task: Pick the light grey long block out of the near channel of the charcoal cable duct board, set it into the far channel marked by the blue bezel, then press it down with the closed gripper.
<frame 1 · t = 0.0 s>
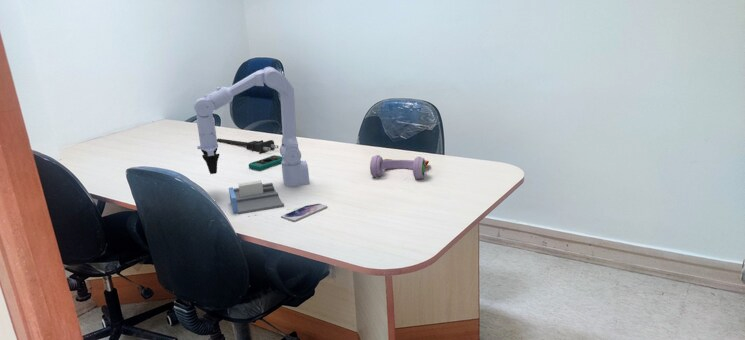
hand: (212, 170, 193), 10 cm above the table, tool pointing down, fingers open, 7 cm apart
light grey long block: (251, 193, 195), point 1 cm above the table, touching duct board
electrical plug: (245, 148, 260), on the table
duct board: (256, 200, 191), on the table
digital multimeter: (267, 166, 230), on the table
smartphone: (304, 214, 179), on the table
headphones: (401, 173, 214), on the table
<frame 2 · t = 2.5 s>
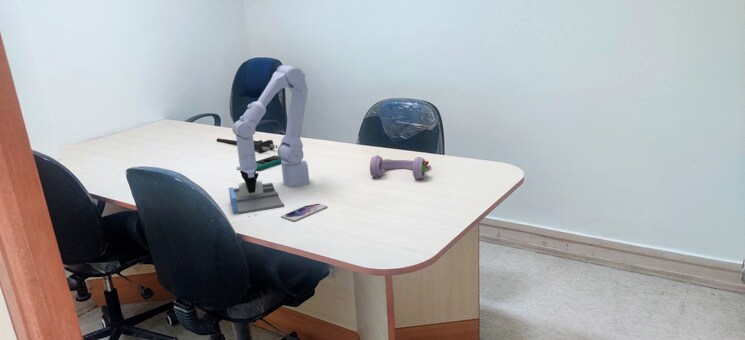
hand: (251, 190, 195), 2 cm above the table, tool pointing down, fingers closed on light grey long block, 3 cm apart
light grey long block: (251, 193, 195), point 1 cm above the table, touching duct board, gripper
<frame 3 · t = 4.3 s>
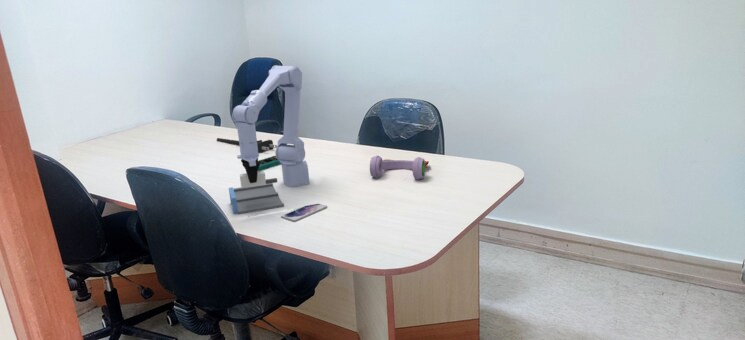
hand: (252, 180, 183), 9 cm above the table, tool pointing down, fingers closed on light grey long block, 3 cm apart
light grey long block: (253, 185, 184), point 7 cm above the table, touching gripper
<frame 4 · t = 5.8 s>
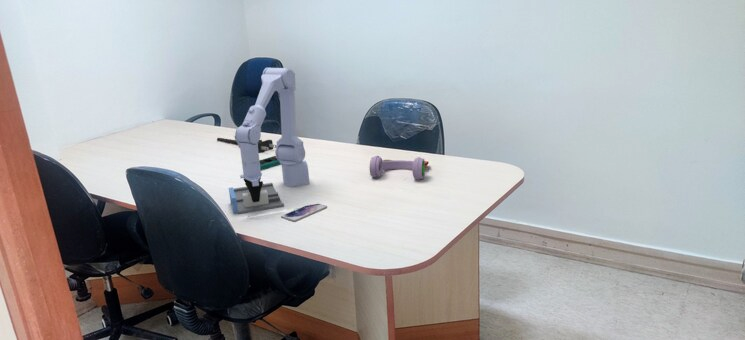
hand: (255, 199, 185), 2 cm above the table, tool pointing down, fingers closed on light grey long block, 3 cm apart
light grey long block: (256, 204, 185), point 1 cm above the table, touching gripper
when the fingers open (2 cm above the table, at t = 6.3 s): light grey long block stays where it is, resting on duct board.
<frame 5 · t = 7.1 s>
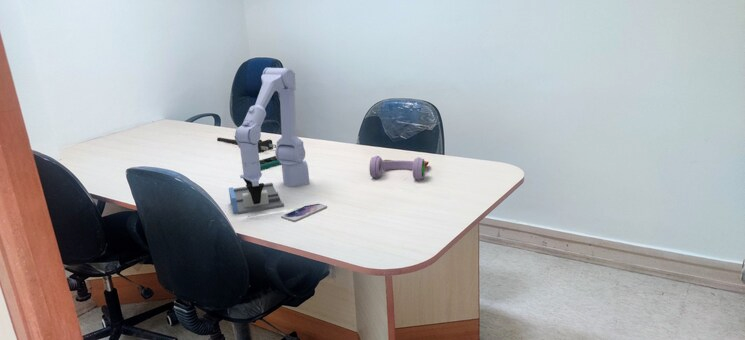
hand: (255, 199, 185), 2 cm above the table, tool pointing down, fingers open, 7 cm apart
light grey long block: (256, 204, 185), point 1 cm above the table, touching duct board
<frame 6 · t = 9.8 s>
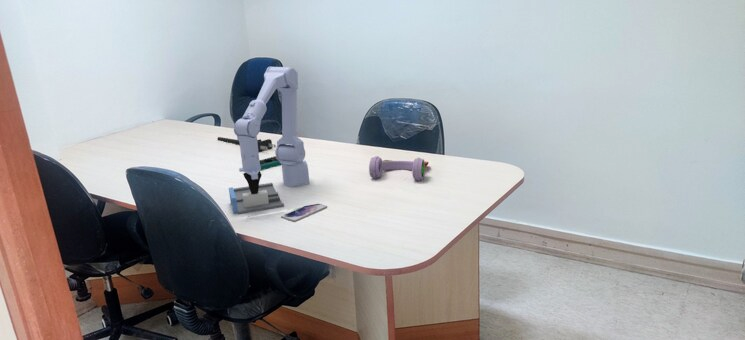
hand: (254, 193, 184), 5 cm above the table, tool pointing down, fingers closed, pressing on light grey long block
light grey long block: (256, 204, 185), point 1 cm above the table, touching duct board, gripper
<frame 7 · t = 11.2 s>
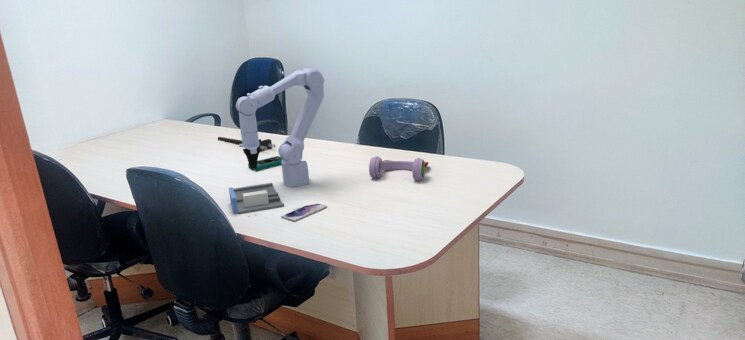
hand: (253, 168, 196), 9 cm above the table, tool pointing down, fingers closed
light grey long block: (256, 204, 185), point 1 cm above the table, touching duct board
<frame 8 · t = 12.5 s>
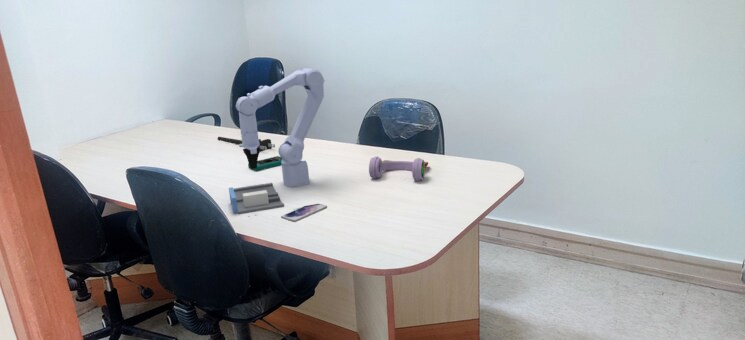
hand: (253, 168, 196), 9 cm above the table, tool pointing down, fingers closed
at the end: light grey long block 0.6 cm from the target spot on the duct board, point 0.8 cm above the duct board's base; light grey long block tilted 0°; the gripper is holding nothing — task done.
